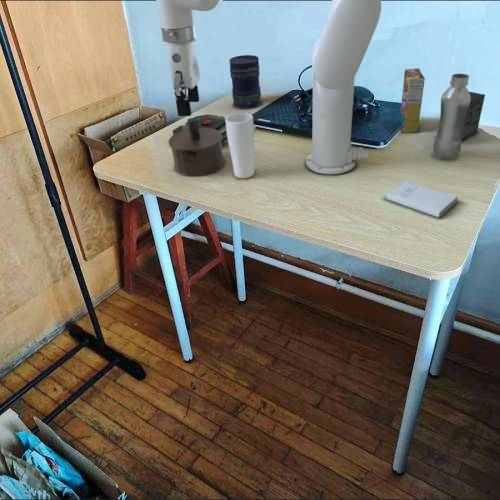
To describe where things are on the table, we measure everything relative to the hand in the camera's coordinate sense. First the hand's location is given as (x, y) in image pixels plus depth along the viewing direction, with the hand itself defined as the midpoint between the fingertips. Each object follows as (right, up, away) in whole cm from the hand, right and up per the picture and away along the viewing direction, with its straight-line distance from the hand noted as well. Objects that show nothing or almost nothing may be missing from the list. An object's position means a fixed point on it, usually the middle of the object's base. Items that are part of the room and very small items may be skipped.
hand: (189, 108), depth 114 cm
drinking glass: (+14, -16, +3) cm, 22 cm away
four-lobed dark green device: (+3, 0, +25) cm, 25 cm away
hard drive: (+53, -25, -13) cm, 60 cm away
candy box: (+61, 0, +19) cm, 64 cm away
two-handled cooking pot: (+2, -12, +9) cm, 16 cm away
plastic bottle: (+65, -12, +3) cm, 66 cm away
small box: (+73, -4, +12) cm, 74 cm away
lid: (+1, -7, +5) cm, 9 cm away
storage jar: (+14, +15, +45) cm, 49 cm away
